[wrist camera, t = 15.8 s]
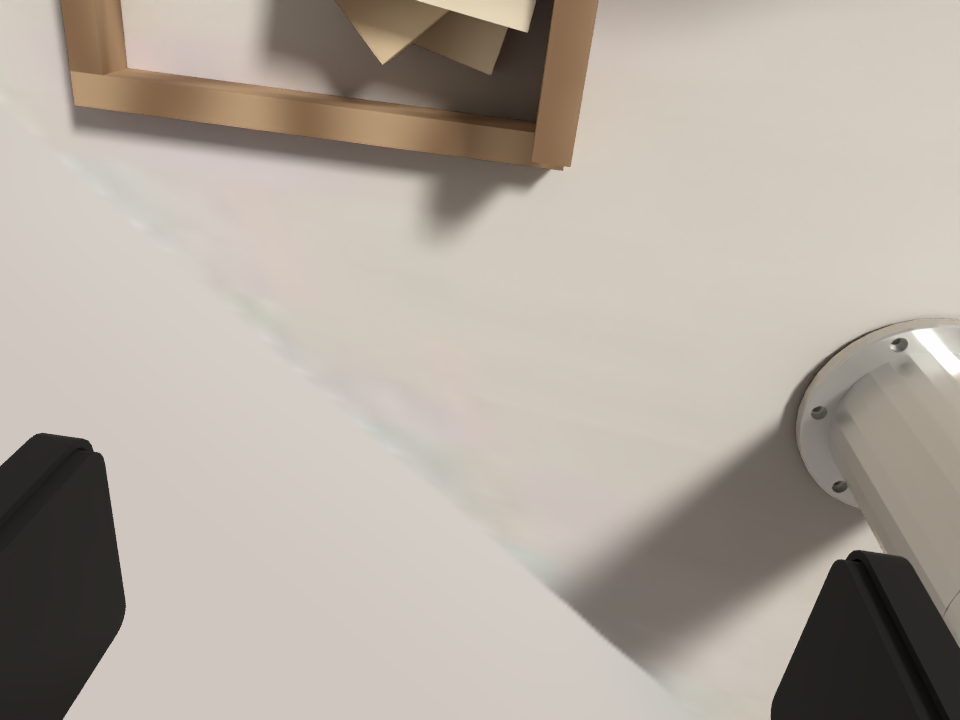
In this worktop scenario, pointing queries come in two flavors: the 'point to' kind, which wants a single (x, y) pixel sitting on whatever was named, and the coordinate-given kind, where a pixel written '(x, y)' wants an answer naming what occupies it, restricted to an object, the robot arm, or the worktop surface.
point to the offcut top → (493, 10)
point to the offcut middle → (390, 23)
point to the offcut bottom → (465, 40)
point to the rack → (535, 144)
